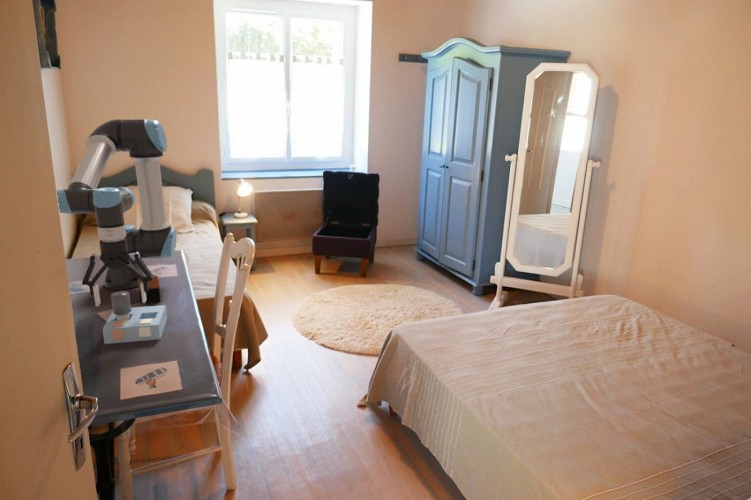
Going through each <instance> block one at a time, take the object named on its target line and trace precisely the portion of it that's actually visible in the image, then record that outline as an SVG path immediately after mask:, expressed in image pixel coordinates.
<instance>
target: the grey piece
mask: <svg viewBox="0 0 751 500" xmlns="http://www.w3.org/2000/svg"><path fill="white" fill-rule="evenodd" d="M130 297H131V296H130V292H129V291H127V290H119V291H116V292H112V293H111V294H110V299H111V306H112V312H113V314H115V315H116V316H117V321H123V320H130V318H129V313H130V312H131V308H132V304H131V298H130Z"/></svg>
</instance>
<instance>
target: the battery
mask: <svg viewBox="0 0 751 500" xmlns="http://www.w3.org/2000/svg"><path fill="white" fill-rule="evenodd" d="M152 275H153V276H154V277H153V279H152V281H148V287H149V290H148V292H146V299H147V300H146V302H145V303H143V302H142V294H141V286H140V283H141V281H140V280H139V279H138V285H139V286H138V292H139V293H138V294H139V302H140V304H143V305H144V304H153V303H160V302H161V298H162V297H161V288H160V287H161V286H160V280H159V279H160V278H159V276H158V275H156V274H153V273H152Z"/></svg>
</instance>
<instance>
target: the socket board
mask: <svg viewBox="0 0 751 500" xmlns="http://www.w3.org/2000/svg"><path fill="white" fill-rule="evenodd" d="M129 318H130V320H123V321H117V316H116V315H115V314H113V311H112V312H111V314H110V316H109V318H108V320H107V321H106V322H105V324H104V326H103V328H102V337H103V342H104V345H108V344H109V345H110V344H120V343H133V342H143V341H146V342H147V341H155V340H161V338H162V335H163V332H164V330H165V326H166V324H167V320H168V314H167V305H166V304H165V305H153V306H151V305H150V306H136V307H131V312H130V313H129Z"/></svg>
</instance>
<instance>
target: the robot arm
mask: <svg viewBox="0 0 751 500" xmlns="http://www.w3.org/2000/svg"><path fill="white" fill-rule="evenodd" d="M167 142H168V141H167V136H166V132H165V130H164V127H163V125H162V124H161V122H159V121H158V120H156V119H147V118H144V119H138V118H137V119H120V118H119V119H117V118H115V119H111V120H108V121H106V122H104V123H102V124H101V125H99V126H97V127H96V128H95V129H94V130H93V131H92V132H91V133H90V134H89V136H88V138H87V140H86V143H85V144H86V148H85V151H84V153H83V156H82V158H81V160H80V162H79V164H78V166H77V168H76V169H75V172H74V174H73V176H72V179H71V181H70V183H69V185H68V186H67V188H66V189H65V188H63V189H58V190H56V191H57V195H58V203H59V209H60V214H71V215H73V214H74V215H75V214H76V215H77V214H95V220H96V227H97V229H96V230H97V235H98V239H99V242H98V243H99V248H100V249H99V250H100V254H96V253H93V254H91V256H89V264H88V267H87V269H86V272H85V274H84V277H83V280H82V282H81V284H82V286H88V287H89V292H90V296H92V297H93V298H94V303H95V307H99V306H100V305H101V296H100V290H99V289H100V288H99V283H96V282H97V281H98V280H99V278H100V277H101V276H102V275H103V273H104V272H105V275H104V278H103V283H104V287H105V288H106V289H107V290H108V289H109V290H116V291H118V290H119V291H120V290H128V289H134V288H137V287H139V285H138V279H139V280H140V281H141V283H140V286H141V294H142V302H143V303H145V302H146V300H147V299H146V292H148V290H149V287H148V281H152V279H153V277H154V276H153V273H152V272H151V270H150V269H149V267H148V266H147V265H146V263H145V261H143V259H166V258H171V257H173V256H174V254H175V251H176V246H177V240H178V239H177V238H178V237H177V235H178V234H177V230H176V228H173V227H172V225H171V223H170V222H169V221H168V220H167V217H166V209H165V201H164V190H163V189H164V188H163V183H162V182H163V181H162V173H161V172H162V171H161V165H160V163H161V162H160V160H161V159H162V158H163V157H164V152H166V151H167V149H168V145H167V144H168V143H167ZM117 152H125V153H126V152H128V153H129V155H128V156H129V158H130V159H132V161H134V166H135V174H136V181H137V188H138V199H139V205H140V213H141V220H142V222H141V223H140V224H139V225H138V229H136V227H135V225H134V224H133V225H132V224H126V225H125V217H124V213H126V212H127V211H129V210H130V209H131V208H133V206H134V204H135V202H136V198H135V194H134V192H133V191H132V190H131V189H130V188H127V187H125V186H119V187H117V186H116V187H113V186H111V187H101V188H98V185H99V184H100V181H101V178H102V176H103V174H104V172H105V169H106V167H107V166H108V165H107V164H108V162H109V161H110V158H113V156H114V155H115V154H116V153H117ZM99 260H100V261H101V262H102V263H103V265H102V267H101V268H100V269H99V270H98V272H97V273H95V275H94V277H92V279H91V275H92V273H93V271H94V268H95V265H96V263H98V261H99ZM90 279H91V280H90ZM145 304H146V303H145Z"/></svg>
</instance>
